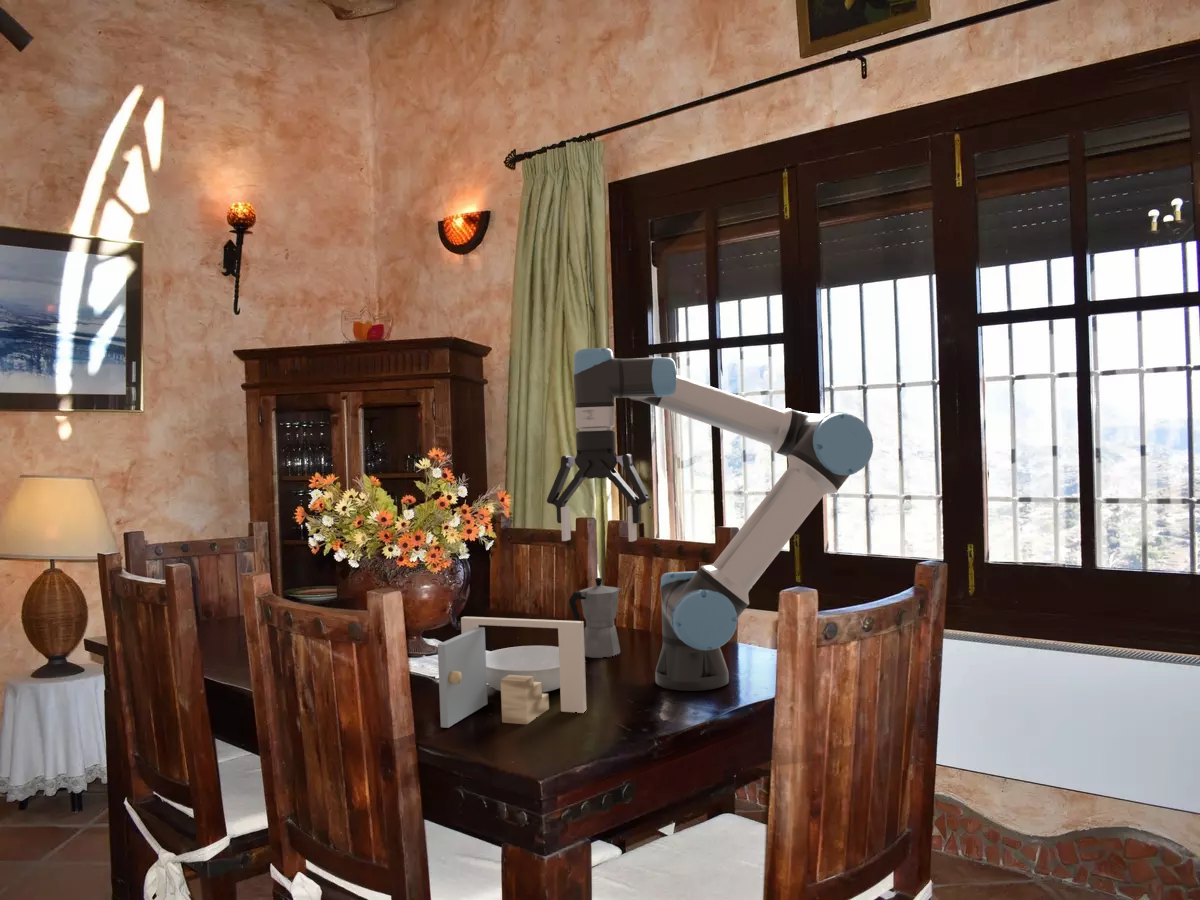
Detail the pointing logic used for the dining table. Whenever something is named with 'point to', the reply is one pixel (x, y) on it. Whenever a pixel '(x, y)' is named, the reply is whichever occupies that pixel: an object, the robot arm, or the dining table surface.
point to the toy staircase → (522, 699)
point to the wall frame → (568, 654)
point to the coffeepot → (598, 619)
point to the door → (462, 676)
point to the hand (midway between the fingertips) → (599, 540)
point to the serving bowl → (524, 665)
